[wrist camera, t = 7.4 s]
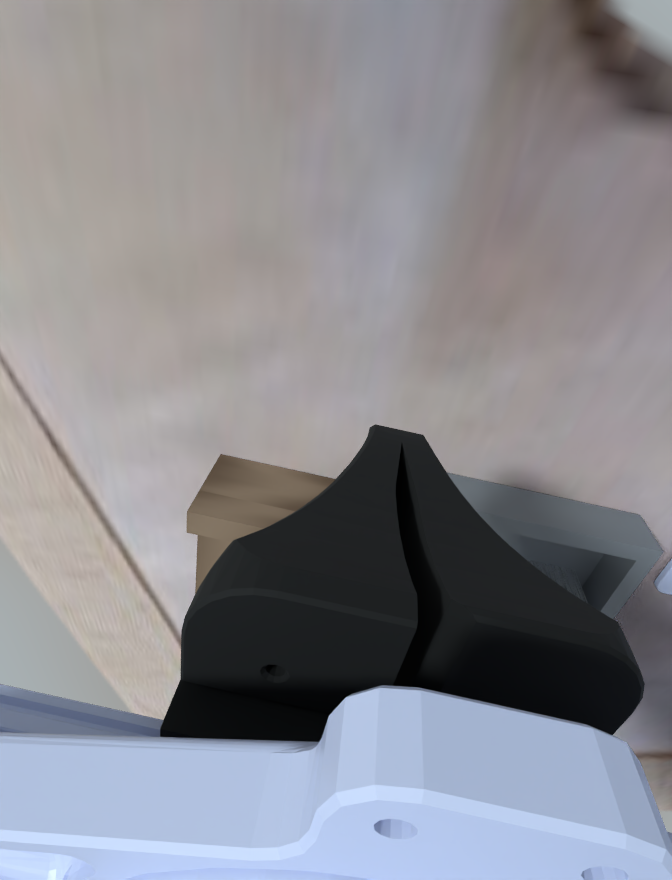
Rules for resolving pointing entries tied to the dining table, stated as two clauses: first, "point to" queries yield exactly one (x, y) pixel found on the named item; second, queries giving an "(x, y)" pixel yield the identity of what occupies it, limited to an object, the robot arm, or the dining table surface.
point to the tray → (570, 538)
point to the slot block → (244, 504)
